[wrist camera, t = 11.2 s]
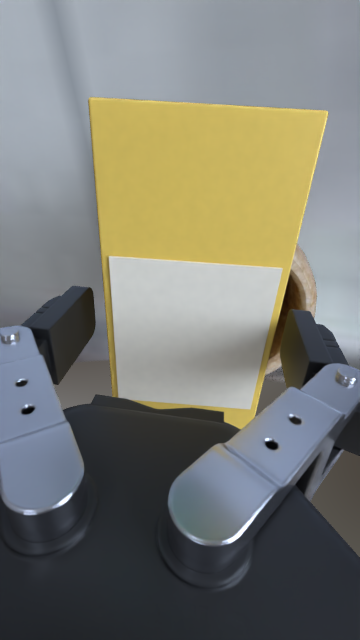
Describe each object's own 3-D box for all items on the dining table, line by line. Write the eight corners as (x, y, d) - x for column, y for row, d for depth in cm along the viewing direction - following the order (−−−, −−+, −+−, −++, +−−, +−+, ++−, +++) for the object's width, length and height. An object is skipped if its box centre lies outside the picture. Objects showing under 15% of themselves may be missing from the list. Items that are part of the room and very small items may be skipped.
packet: (117, 99, 12) (85, 96, 9) (297, 110, 11) (331, 110, 8) (130, 406, 20) (116, 460, 17) (236, 414, 19) (242, 471, 16)
